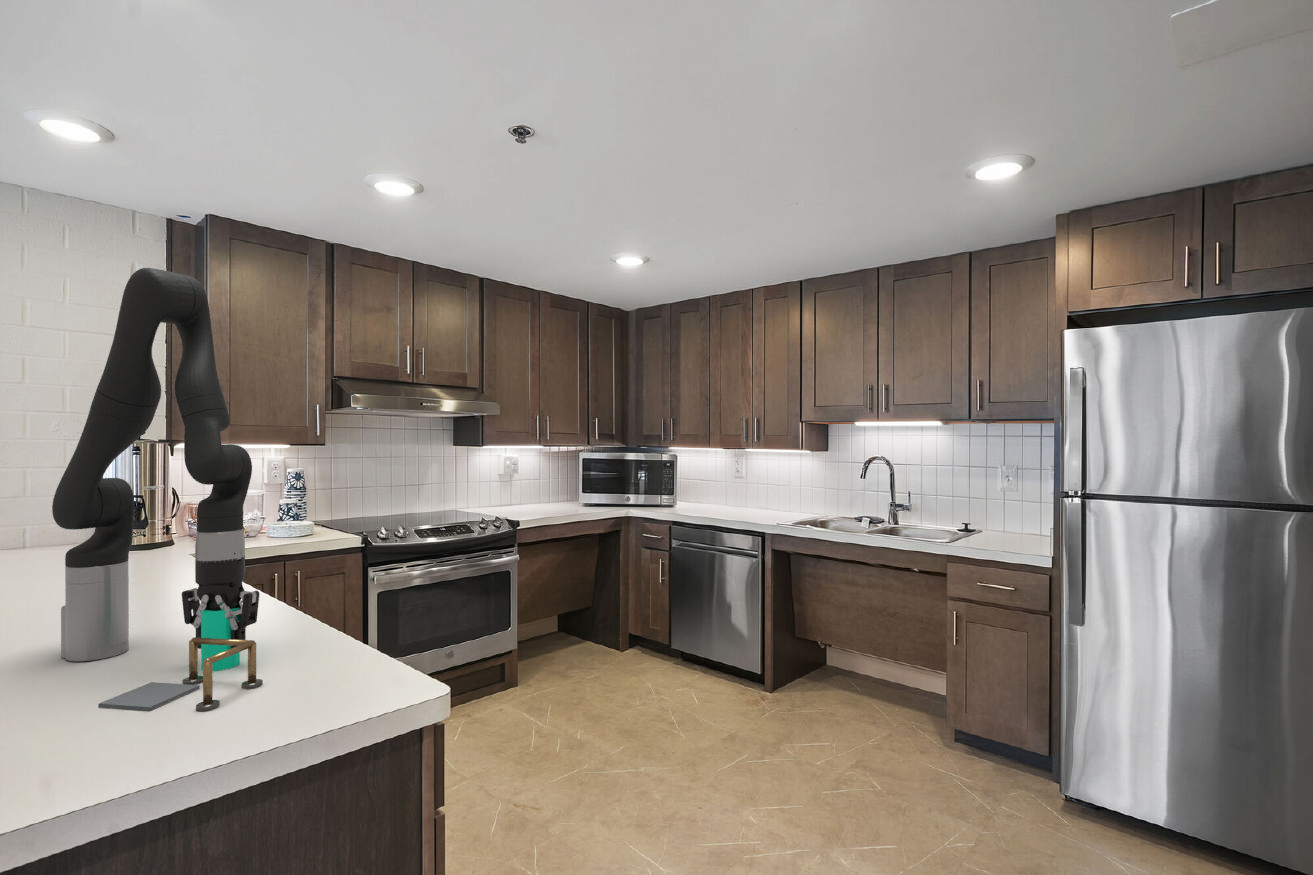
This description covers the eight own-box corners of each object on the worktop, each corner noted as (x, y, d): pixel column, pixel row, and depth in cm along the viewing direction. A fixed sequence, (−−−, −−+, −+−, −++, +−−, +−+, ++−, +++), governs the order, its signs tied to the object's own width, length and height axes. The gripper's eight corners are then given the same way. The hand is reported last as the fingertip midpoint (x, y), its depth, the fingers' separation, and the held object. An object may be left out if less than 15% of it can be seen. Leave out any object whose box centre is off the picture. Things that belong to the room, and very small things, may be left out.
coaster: (98, 707, 102) (98, 703, 102) (151, 685, 111) (151, 682, 111) (150, 711, 101) (149, 707, 101) (199, 688, 110) (199, 685, 110)
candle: (221, 672, 117) (220, 603, 117) (192, 670, 119) (191, 602, 119) (248, 661, 123) (248, 595, 123) (220, 659, 124) (220, 594, 124)
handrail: (127, 706, 103) (127, 657, 103) (193, 678, 114) (192, 634, 114) (208, 712, 100) (208, 661, 100) (266, 682, 112) (266, 638, 112)
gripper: (167, 558, 118) (167, 653, 118) (240, 560, 116) (240, 657, 116) (202, 550, 126) (202, 640, 126) (271, 552, 123) (271, 643, 123)
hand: (220, 648), depth 121 cm, fingers open, 6 cm apart
